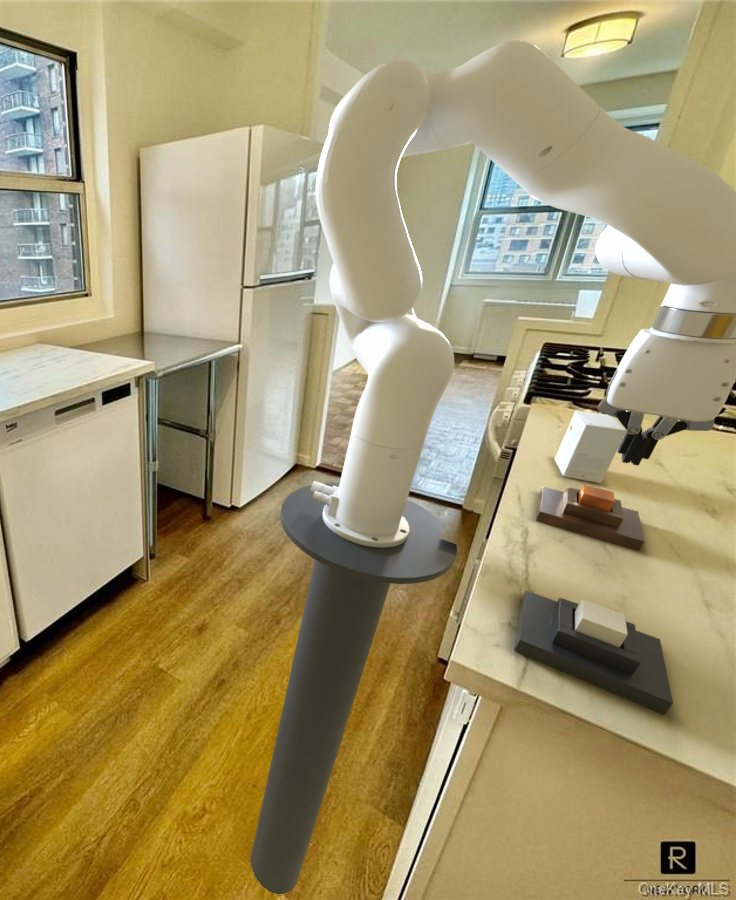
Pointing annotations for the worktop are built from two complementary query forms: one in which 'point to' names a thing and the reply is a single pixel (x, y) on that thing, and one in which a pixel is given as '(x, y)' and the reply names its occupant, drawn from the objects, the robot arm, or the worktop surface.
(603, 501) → the key
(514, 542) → the worktop surface
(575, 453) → the small box
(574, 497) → the stepped brown stand
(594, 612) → the key
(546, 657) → the stepped grey stand
